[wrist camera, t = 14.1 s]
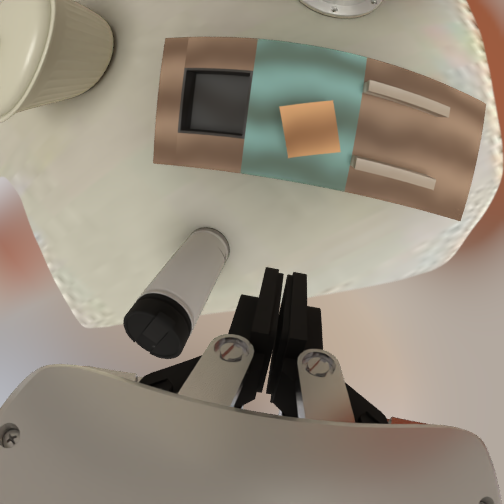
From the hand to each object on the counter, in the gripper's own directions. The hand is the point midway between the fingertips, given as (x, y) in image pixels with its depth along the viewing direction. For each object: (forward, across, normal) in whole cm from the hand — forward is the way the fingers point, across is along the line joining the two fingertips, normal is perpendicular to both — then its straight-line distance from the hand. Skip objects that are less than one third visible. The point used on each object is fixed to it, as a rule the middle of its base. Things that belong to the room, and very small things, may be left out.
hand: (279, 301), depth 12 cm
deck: (+27, -2, -8) cm, 28 cm away
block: (+23, -1, -6) cm, 24 cm away
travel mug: (+27, +10, +12) cm, 31 cm away
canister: (+27, +33, -16) cm, 46 cm away
